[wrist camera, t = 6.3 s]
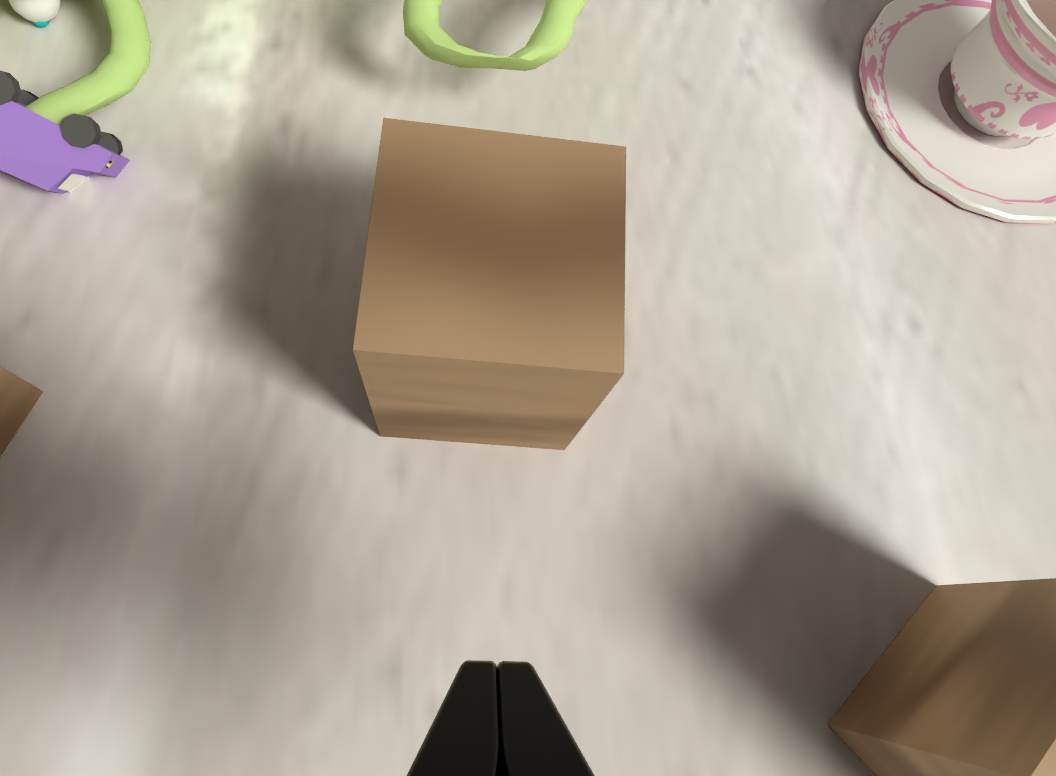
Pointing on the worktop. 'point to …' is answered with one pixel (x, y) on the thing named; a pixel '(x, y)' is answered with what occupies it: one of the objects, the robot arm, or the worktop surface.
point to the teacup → (969, 99)
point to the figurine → (59, 117)
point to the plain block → (491, 285)
